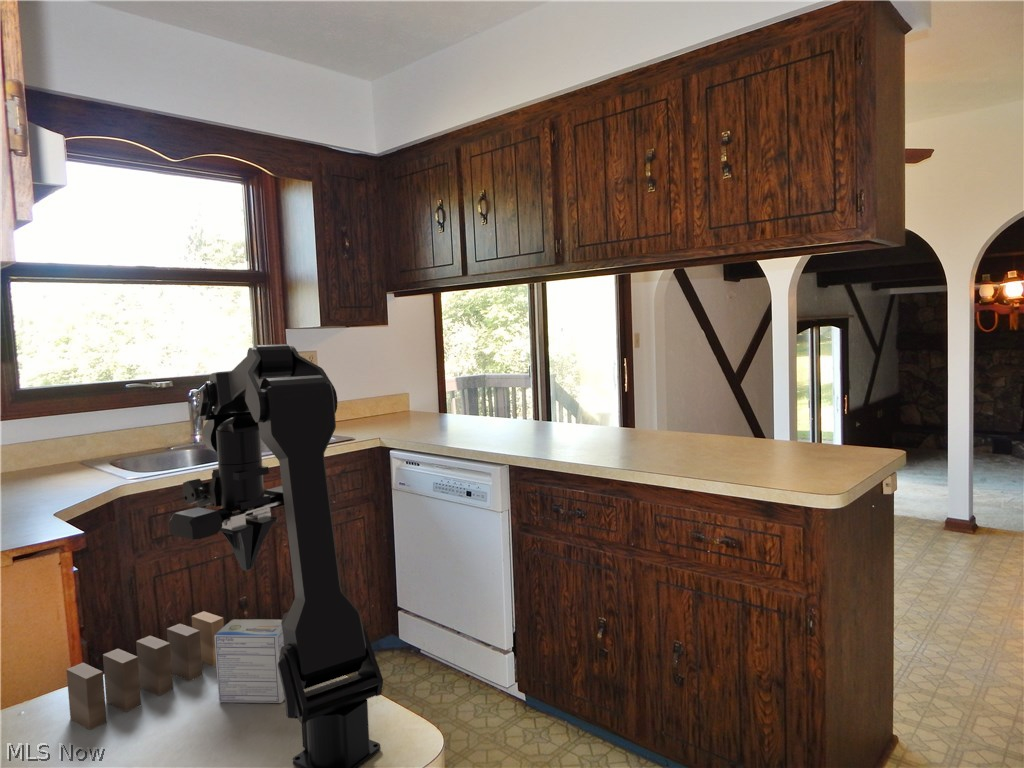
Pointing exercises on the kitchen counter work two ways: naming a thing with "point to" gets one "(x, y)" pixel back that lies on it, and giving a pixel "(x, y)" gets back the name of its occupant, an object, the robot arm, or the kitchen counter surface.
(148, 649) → the domino
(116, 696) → the domino
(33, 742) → the kitchen counter surface
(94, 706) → the domino
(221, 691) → the medicine box
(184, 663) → the domino
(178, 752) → the kitchen counter surface
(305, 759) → the robot arm
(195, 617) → the domino
